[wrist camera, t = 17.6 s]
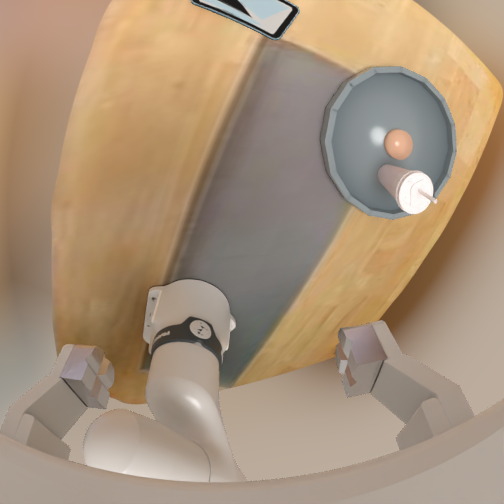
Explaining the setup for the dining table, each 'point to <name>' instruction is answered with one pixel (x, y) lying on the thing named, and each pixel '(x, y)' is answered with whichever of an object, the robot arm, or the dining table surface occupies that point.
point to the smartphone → (255, 14)
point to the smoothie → (407, 187)
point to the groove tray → (386, 136)
